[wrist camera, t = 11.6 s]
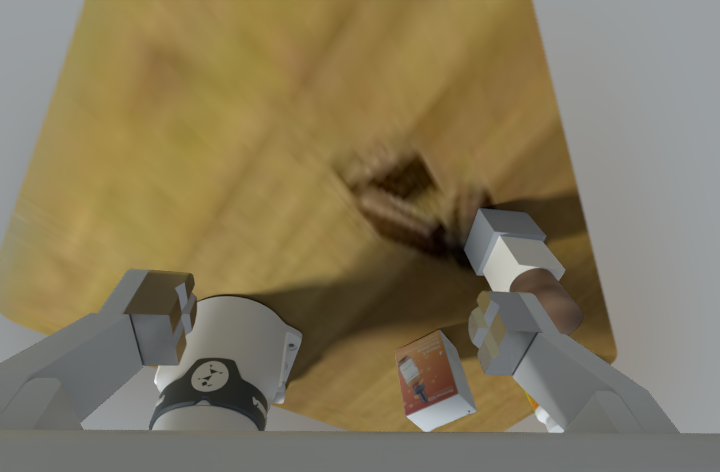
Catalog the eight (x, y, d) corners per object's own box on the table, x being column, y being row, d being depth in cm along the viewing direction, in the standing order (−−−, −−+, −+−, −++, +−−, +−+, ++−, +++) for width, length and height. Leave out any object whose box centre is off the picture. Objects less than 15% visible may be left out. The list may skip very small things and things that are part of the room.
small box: (439, 327, 55) (460, 392, 47) (456, 347, 58) (479, 412, 49) (392, 350, 57) (404, 417, 49) (411, 368, 60) (425, 434, 52)
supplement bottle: (510, 377, 64) (537, 435, 56) (534, 359, 61) (565, 416, 53) (533, 386, 65) (561, 443, 57) (556, 368, 63) (590, 425, 55)
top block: (522, 275, 44) (542, 306, 40) (482, 271, 43) (499, 302, 39) (541, 240, 41) (565, 269, 37) (499, 235, 40) (519, 264, 36)
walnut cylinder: (542, 304, 40) (567, 341, 35) (502, 300, 39) (524, 338, 35) (562, 270, 37) (592, 306, 33) (520, 265, 36) (545, 302, 32)
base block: (508, 252, 48) (525, 278, 44) (463, 249, 48) (476, 275, 43) (526, 212, 45) (546, 236, 41) (478, 207, 44) (494, 231, 40)
